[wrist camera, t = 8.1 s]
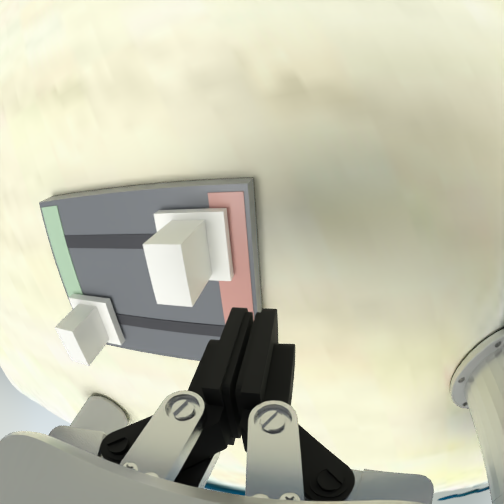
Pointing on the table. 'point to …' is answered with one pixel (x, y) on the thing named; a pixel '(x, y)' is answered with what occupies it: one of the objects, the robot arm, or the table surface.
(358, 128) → the table surface
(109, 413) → the can
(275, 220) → the table surface
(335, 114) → the table surface
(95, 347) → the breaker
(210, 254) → the breaker
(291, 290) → the table surface
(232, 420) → the robot arm
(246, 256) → the slider switch panel
